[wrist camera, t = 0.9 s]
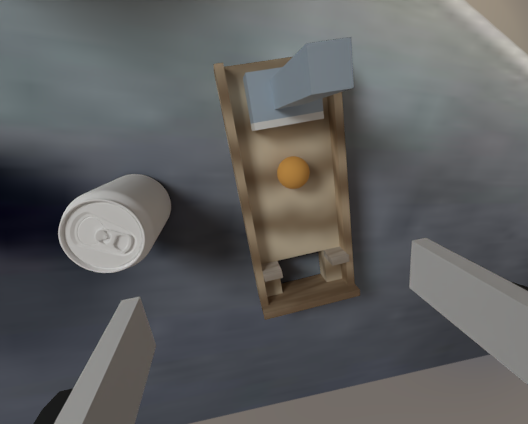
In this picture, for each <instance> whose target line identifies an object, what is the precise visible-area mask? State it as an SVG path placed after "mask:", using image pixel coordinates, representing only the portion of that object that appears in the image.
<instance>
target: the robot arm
mask: <svg viewBox="0 0 528 424" xmlns="http://www.w3.org/2000/svg"><path fill="white" fill-rule="evenodd" d="M409 288H410V289H412V290H413V291H414V292H415V293H416V294H418V295H419V296H420V297H421V298H423V299H424V300H425V301H426V302H427V303H429V304H430V305H431V306H432V307H434V308H435V309H436V310H437V311H438V312H440V313H441V314H442V315H443V316H444V317H446V318H447V319H448V320H449V321H451V322H452V323H453V324H454V325H455V326H457V327H458V328H459V329H460V330H461V331H463V332H464V333H465V334H466V335H468V336H469V337H470V338H471V339H472V340H474V341H475V342H476V343H477V344H479V345H480V346H481V347H482V348H483V349H485V350H486V351H487V352H488V353H489V354H491V355H492V356H493V357H494V358H496V359H497V360H498V361H499V362H500V363H502V364H503V365H504V366H505V367H506V368H508V369H509V370H510V371H511V372H513V373H514V374H515V375H516V376H517V377H519V378H520V379H521V380H522V381H524V382H525V383H526V384H527V385H528V287H525V286H522V285H519V284H516V283H513V282H512V283H511V282H510V281H508V280H506V279H504V278H502V277H500V276H498V275H496V274H494V273H492V272H490V271H488V270H487V269H485V268H483V267H481V266H479V265H477V264H475V263H473V262H471V261H469V260H467V259H465V258H463V257H462V256H460V255H458V254H456V253H454V252H452V251H450V250H448V249H446V248H444V247H442V246H440V245H439V244H437V243H435V242H433V241H431V240H429V239H427V238H423V239H418V240H413V241H412V250H411V267H410V285H409ZM155 348H156V344H155V341H154V338H153V335H152V332H151V329H150V326H149V323H148V320H147V317H146V314H145V311H144V308H143V305H142V302H141V299H140V297H136V298H131V299H126V300H122V301H121V303H120V304H119V306H118V308H117V310H116V312H115V313H114V315H113V317H112V319H111V321H110V323H109V324H108V326H107V328H106V330H105V332H104V333H103V335H102V337H101V339H100V341H99V343H98V344H97V346H96V348H95V350H94V352H93V353H92V355H91V357H90V359H89V361H88V363H87V364H86V366H85V368H84V370H83V372H82V373H81V375H80V377H79V379H78V381H77V383H76V384H75V386H74V388H73V389H69V390H64V391H60V392H59V393H58V394H57V395H56V396H55V397H54V398H53V399H52V400H51V401H50V402H49V403H48V404H47V405H46V406H45V407H44V408H43V409H42V411H41V412H40V414H39V416H38V417H37V419H36V421H35V422H34V424H135V420H136V416H137V413H138V409H139V405H140V402H141V398H142V395H143V391H144V387H145V384H146V380H147V377H148V373H149V369H150V366H151V362H152V358H153V355H154V351H155Z"/></svg>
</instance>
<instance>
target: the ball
mask: <svg viewBox="0 0 528 424" xmlns="http://www.w3.org/2000/svg"><path fill="white" fill-rule="evenodd" d="M309 175H310V170H309V166H308V164H307V163H306V162H305V161H304V160H303V159H302V158H300V157H296V156H291V157H287V158H285V159H284V160H283V161H282V162H281V163H280V164H279V166H278V169H277V177H278V180H279V182H280V183H281V184H282V185H283V186H284V187H286V188H289V189H297V188H300V187H302V186H303V185H304V184H305V183H306V182H307V181H308V179H309Z"/></svg>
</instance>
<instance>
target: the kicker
mask: <svg viewBox="0 0 528 424" xmlns="http://www.w3.org/2000/svg"><path fill="white" fill-rule="evenodd" d="M243 82H244V88H245V94H246V100H247V106H248V111H249V117H250V123H251V129H252V131H256V130H261V129H267V128H273V127H278V126H284V125H290V124H296V123H301V122H307V121H313V120H318V119H324V113H323V101H322V98H324V97H327V96H330V95H334V94H337V93H340V92H343V91H346V90H349V89H352V88H354V80H353V61H352V42H351V37H347V38H340V39H333V40H326V41H319V42H312V43H306V44H305V45H304V46H303V47H302V48H301V49H300V50H299V51H298V52H297V53H296V54H295V55H294V56H293V57H292V58H291V59H290V60H289V61H288V62H287V63H286V64H285V65H284V66H283V67H280V68H273V69H266V70H260V71H253V72H246V73H245V75H244V77H243Z"/></svg>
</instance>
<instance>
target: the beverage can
mask: <svg viewBox="0 0 528 424" xmlns="http://www.w3.org/2000/svg"><path fill="white" fill-rule="evenodd" d="M170 212H171V201H170V197H169V195H168V193H167V191H166V190H165V188H164V187H163V186H162V185H161V184H160V183H159V182H158V181H156V180H155V179H153V178H151V177H148V176H145V175H141V174H129V175H125V176H122V177H120V178H118V179H115V180H113V181H111V182H109V183H107V184H105V185H102V186H100V187H98V188H96V189H94V190H91V191H89V192H87V193H85V194H83V195H81V196H79V197H77V198H76V199H75V200H73V201H72V202H71V203H70V204H69V206H68V207H67V208H66V210H65V212H64V214H63V216H62V219H61V222H60V225H59V231H58V235H59V241H60V244H61V246H62V248H63V250H64V252H65V253H66V255H67V256H68V257H69V258H70V259H71V260H72V261H73V262H75V263H76V264H77V265H79V266H81V267H83V268H85V269H87V270H90V271H94V272H99V273H112V272H118V271H121V270H124V269H126V268H129V267H132V266H134V265H135V264H137V263H139V262H140V261H141V260H142V259H144V258H145V256H146V255H147V254H148V253H149V251H150V250H151V248H152V246H153V244H154V243H155V241H156V239H157V237H158V236H159V234H160V232H161V230H162V229H163V227H164V225H165V223H166V222H167V220H168V218H169V216H170Z"/></svg>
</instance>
